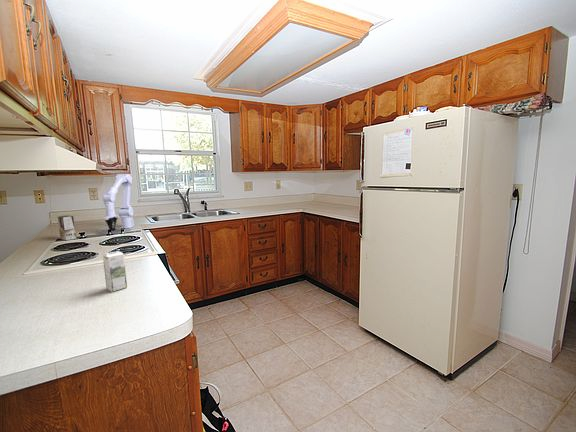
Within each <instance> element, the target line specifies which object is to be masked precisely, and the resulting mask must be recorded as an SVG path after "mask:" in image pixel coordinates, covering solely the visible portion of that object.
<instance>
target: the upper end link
mask: <svg viewBox="0 0 576 432" xmlns="http://www.w3.org/2000/svg"><path fill="white" fill-rule="evenodd" d="M108 230H109V228H101V229H99V230H97V231H96V234H97V235H103V234H102V233H103V232H108ZM120 230H121V227H118V228H117V227H115V230H111V232H118V231H120Z"/></svg>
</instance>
